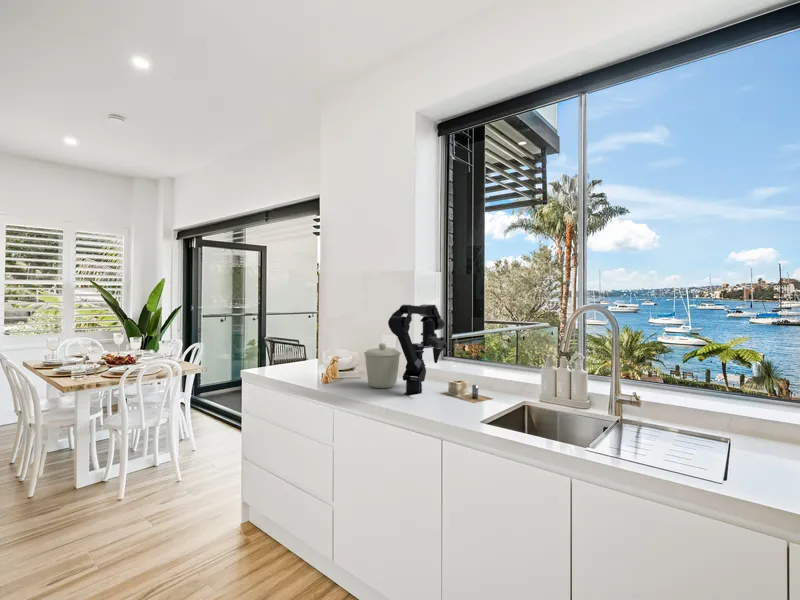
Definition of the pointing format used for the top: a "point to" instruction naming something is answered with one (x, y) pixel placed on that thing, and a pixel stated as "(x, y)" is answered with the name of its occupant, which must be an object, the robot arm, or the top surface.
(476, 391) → the post
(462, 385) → the collar
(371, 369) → the canister
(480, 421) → the top surface
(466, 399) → the board
